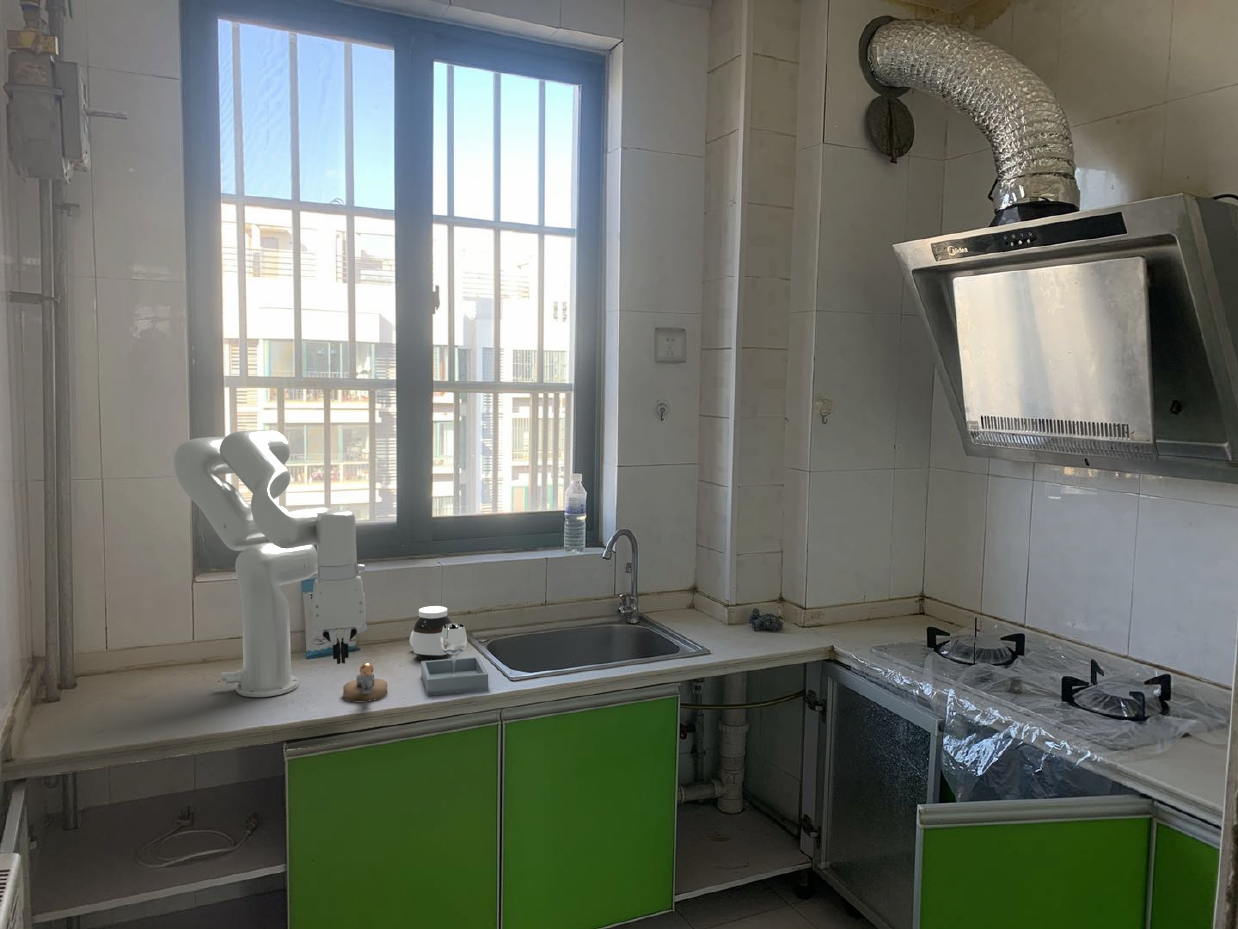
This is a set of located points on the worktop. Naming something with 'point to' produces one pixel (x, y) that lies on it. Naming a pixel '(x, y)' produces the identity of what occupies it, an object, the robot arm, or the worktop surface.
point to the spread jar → (429, 633)
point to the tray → (468, 678)
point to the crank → (366, 678)
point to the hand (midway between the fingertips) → (341, 661)
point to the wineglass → (453, 641)
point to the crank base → (355, 694)
